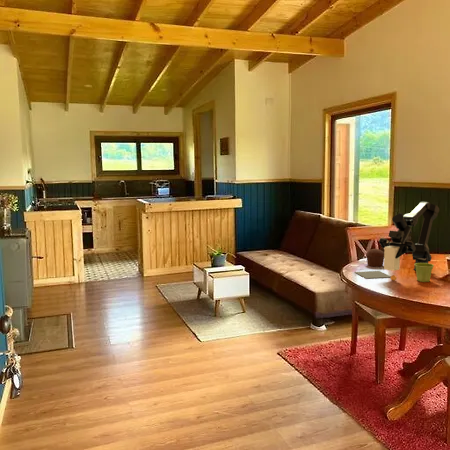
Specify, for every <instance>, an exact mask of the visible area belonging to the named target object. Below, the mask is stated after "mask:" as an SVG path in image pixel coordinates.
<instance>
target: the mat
mask: <svg viewBox="0 0 450 450" xmlns="http://www.w3.org/2000/svg"><path fill="white" fill-rule="evenodd" d="M354 274H356V275H358V276H360V277H362V278H363V277H364V278H363V279H366V280H367V279H368V280H369V279H372V280H373V279H391V276H392V275H389V274H387V273H385V272H383V271H381V270H371V271H370V270H369V271H366V270H365V271H354Z"/></svg>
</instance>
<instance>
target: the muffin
mask: <svg viewBox="0 0 450 450" xmlns="http://www.w3.org/2000/svg"><path fill="white" fill-rule="evenodd" d="M365 256H366V262H367V266H368V267H373V268H374V267H375V268H380V267H384V251H383V250H381V249H378V248H373V249H372V248H371V249H370V250H367V252H366V254H365Z"/></svg>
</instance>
